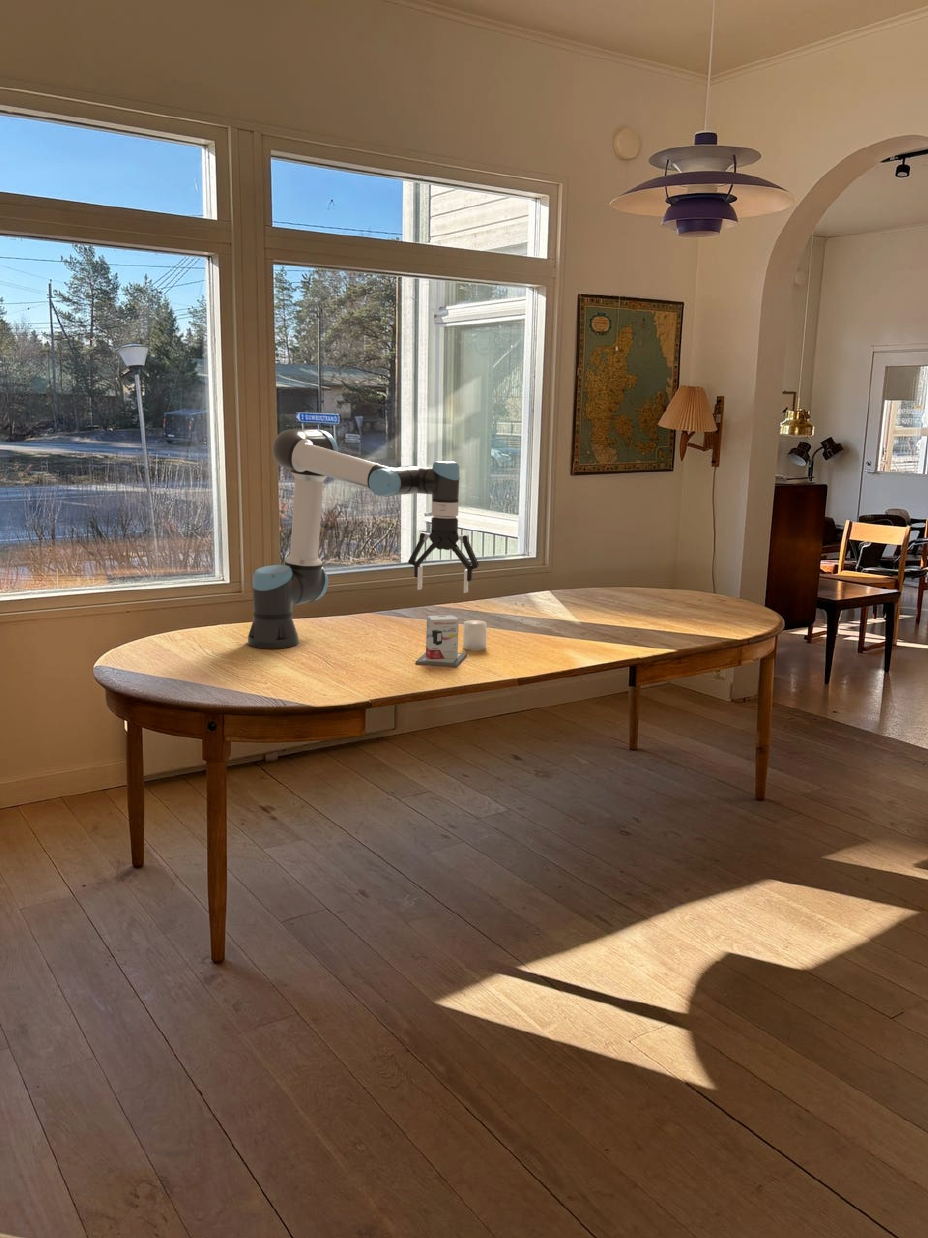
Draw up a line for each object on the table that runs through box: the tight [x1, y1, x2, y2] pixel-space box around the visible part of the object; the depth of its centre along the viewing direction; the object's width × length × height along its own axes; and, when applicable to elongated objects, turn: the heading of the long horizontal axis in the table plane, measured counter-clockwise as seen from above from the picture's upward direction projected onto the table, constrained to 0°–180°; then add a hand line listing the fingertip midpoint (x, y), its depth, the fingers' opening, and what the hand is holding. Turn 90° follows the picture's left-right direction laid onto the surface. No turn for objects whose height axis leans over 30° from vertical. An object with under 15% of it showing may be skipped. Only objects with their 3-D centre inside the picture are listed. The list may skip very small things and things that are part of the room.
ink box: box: [425, 614, 460, 659], centre depth 292 cm, size 9×5×12 cm, turn 105°
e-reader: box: [415, 651, 468, 668], centre depth 293 cm, size 12×14×1 cm
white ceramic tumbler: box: [462, 619, 488, 652], centre depth 309 cm, size 7×7×8 cm
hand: (442, 590), depth 290 cm, fingers open, 13 cm apart
